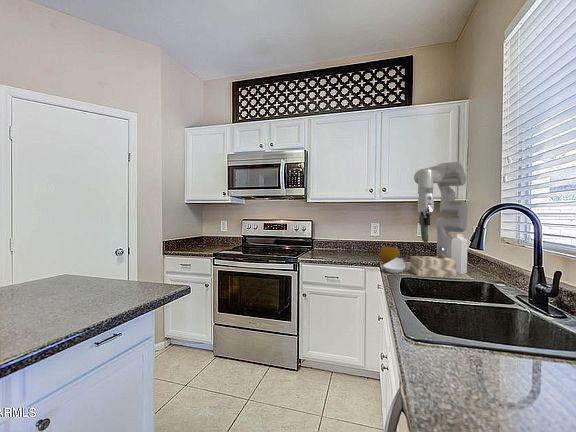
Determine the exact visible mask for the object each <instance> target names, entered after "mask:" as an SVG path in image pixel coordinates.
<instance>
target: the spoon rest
mask: <svg viewBox="0 0 576 432" xmlns="http://www.w3.org/2000/svg"><path fill="white" fill-rule="evenodd" d="M382 267H383V269H384V271H386V273H389V274H400V273H402V272H403V271H404V270H405V269H406V261H405V260H404V258H403V257H401V258H400V257H399V258H395V259H393V260H391V261H390V262H388V263H386V264H384V263H383V265H382Z"/></svg>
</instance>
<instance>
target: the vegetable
mask: <svg viewBox="0 0 576 432" xmlns="http://www.w3.org/2000/svg"><path fill="white" fill-rule="evenodd" d="M426 212H427V211H426ZM426 214H427V213H426ZM424 218H425V216H424V212H423V214H422V215H421V219H420V218H419V221H420V224H419V225H420V235H421V237H420V238H421V240H422V241H423V243H424V244H428V242H429V230H428V228H429V225H424Z"/></svg>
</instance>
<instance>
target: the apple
mask: <svg viewBox="0 0 576 432" xmlns="http://www.w3.org/2000/svg"><path fill="white" fill-rule="evenodd" d="M378 255H379V258H380V260H381V262H382V263H383V265H384V264H386V263H388V262H390V261H391V260H393V259H395V258H400V257H401V251H400V250H399V249H398V248H397V247H394V246H383V247H381V248H380V249H379V254H378Z"/></svg>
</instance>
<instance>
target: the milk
mask: <svg viewBox="0 0 576 432" xmlns="http://www.w3.org/2000/svg"><path fill="white" fill-rule="evenodd" d="M468 242H469V240H468V239H466V238H465V237H464V235H463V233H458V234H456V237H453V239H452V243H451V258H452V259H455V260H456V274H458V273H460V274H459V275H464V274H467V273H468V249H469V248H468V245H469V243H468Z"/></svg>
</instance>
